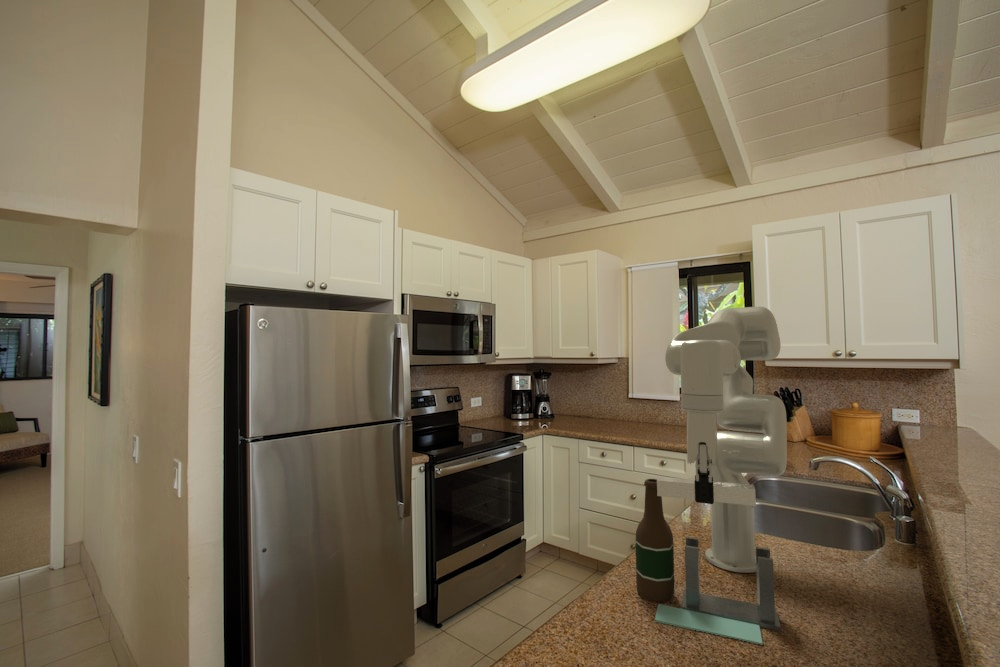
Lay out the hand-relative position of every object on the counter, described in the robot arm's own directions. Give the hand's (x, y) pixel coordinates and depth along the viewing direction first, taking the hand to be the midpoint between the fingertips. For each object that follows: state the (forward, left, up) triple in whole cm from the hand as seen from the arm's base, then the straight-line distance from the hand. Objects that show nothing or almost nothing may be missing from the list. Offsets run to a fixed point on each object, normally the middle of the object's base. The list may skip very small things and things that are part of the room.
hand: (704, 499), depth 88 cm
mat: (0, 0, -23) cm, 23 cm away
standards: (-6, +4, -23) cm, 25 cm away
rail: (0, 0, 0) cm, 0 cm away
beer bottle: (-8, -10, -24) cm, 27 cm away
